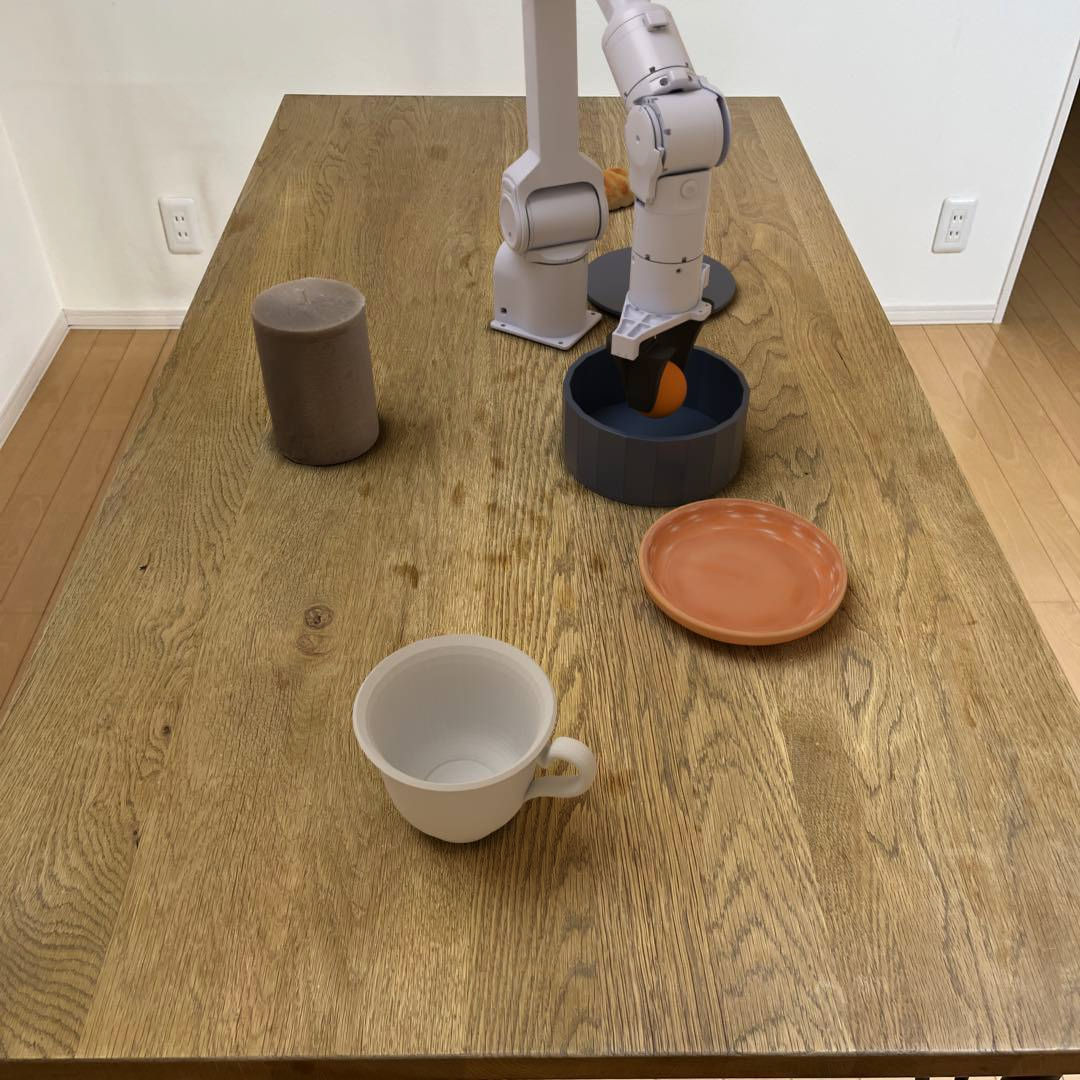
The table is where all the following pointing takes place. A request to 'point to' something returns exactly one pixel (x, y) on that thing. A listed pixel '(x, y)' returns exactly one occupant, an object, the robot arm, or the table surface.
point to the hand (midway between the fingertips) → (655, 391)
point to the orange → (669, 393)
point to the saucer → (742, 571)
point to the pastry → (617, 187)
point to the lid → (614, 281)
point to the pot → (654, 432)
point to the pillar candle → (316, 369)
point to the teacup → (464, 734)
